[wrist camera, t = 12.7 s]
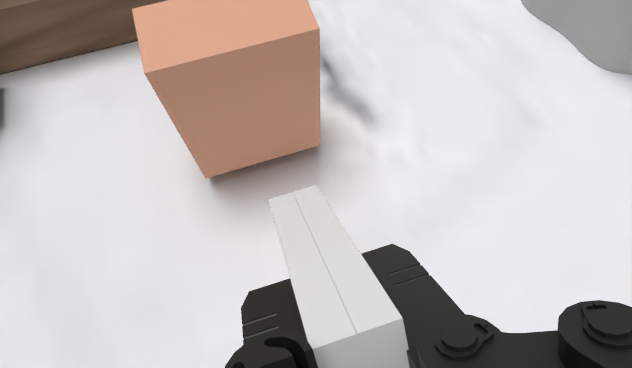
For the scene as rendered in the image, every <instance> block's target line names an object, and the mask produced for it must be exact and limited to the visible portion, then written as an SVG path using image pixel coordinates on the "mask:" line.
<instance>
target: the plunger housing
mask: <svg viewBox="0 0 632 368" xmlns="http://www.w3.org/2000/svg"><path fill="white" fill-rule="evenodd" d="M163 1H167V0H0V74H2V73H6V72H10V71H14V70H18V69H23V68H27V67H31V66H35V65H39V64H43V63H47V62H51V61H55V60H59V59H63V58H67V57H71V56H75V55H79V54H83V53H87V52H92V51H96V50H100V49H104V48H108V47H112V46H116V45H120V44H124V43H128V42H132V41H136V40H138V38H137V33H136V28H135V23H134V17H133V12H132V9H134V8H138V7H142V6H146V5H151V4H155V3H159V2H163Z"/></svg>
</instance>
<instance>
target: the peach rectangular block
mask: <svg viewBox="0 0 632 368" xmlns="http://www.w3.org/2000/svg"><path fill="white" fill-rule="evenodd" d="M132 12H133V17H134V23H135V28H136V33H137V38H138V43H139V48H140V53H141V59H142V64H143V69H144V73H145V75H146V77H147V79H148V80H149V82H150V84H151V85H152V87H153V89H154V91H155V92H156V94H157V96H158V97H159V99H160V101H161V103H162V104H163V106H164V108H165V109H166V111H167V113H168V115H169V116H170V118H171V120H172V121H173V123H174V125H175V127H176V128H177V130H178V132H179V134H180V135H181V137H182V139H183V140H184V142H185V144H186V146H187V147H188V149H189V151H190V152H191V154H192V156H193V158H194V159H195V161H196V163H197V164H198V166H199V168H200V170H201V171H202V173H203V175H204V176H205V178H209V177H213V176H216V175H220V174H223V173H226V172H230V171H233V170H237V169H240V168H244V167H247V166H251V165H254V164H257V163H261V162H264V161H268V160H271V159H275V158H278V157H282V156H285V155H288V154H292V153H295V152H299V151H302V150H306V149H309V148H313V147H316V146H319V145H320V35H319V26H318V24H317V22H316V19H315V17H314V15H313V12H312V10H311V8H310V6H309V3H308V1H307V0H167V1H163V2H159V3H155V4H151V5H146V6H142V7H138V8H134V9H132Z"/></svg>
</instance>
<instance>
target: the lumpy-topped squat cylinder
mask: <svg viewBox="0 0 632 368" xmlns="http://www.w3.org/2000/svg"><path fill="white" fill-rule="evenodd" d="M521 1H522V4H523V5H524V7H525V8H526V9H527V10H528V11H529V12H530V13H531V14H532V15H534V16H535V17H536V18H538V19H539V20H541V21H543V22H544V23H546V24H548V25H549V26H551V27H552V28H554V29H555V30H557V31H558V32H560V33H561V34H562V35H563V36H565V37H566V38H567V39H568V40H569V41H570V42H571V43H572V44H573V45H574V46H575V47H576V48H577V50H578V51H579V52H580V53H581V54H582V55H584V56H585V57H586V58H587V59H588V60H589V61H591V62H592V63H594V64H595V65H597V66H599V67H601V68H603V69H605V70H608V71H612V72H616V73H623V74H632V0H521Z"/></svg>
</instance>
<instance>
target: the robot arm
mask: <svg viewBox="0 0 632 368" xmlns="http://www.w3.org/2000/svg"><path fill="white" fill-rule="evenodd" d="M268 201H269V205H270V208H271V212H272V215H273V219H274V223H275V226H276V230H277V233H278V237H279V240H280V244H281V248H282V251H283V255H284V258H285V262H286V265H287V269H288V273H289V276H290V279H287V280H284V281H281V282H277V283H274V284H271V285H268V286H265V287H262V288H259V289H256V290H253V291H250V292H249V293H248V295H247V297H246V299H245V301H244V303H243V305H242V307H241V313H242V324H243V327H242V328H243V338H244V340H243V343H244V345H243V346H242V347H241V348H240V349H238V350H237V351H236V352H235V353H234V354H233V356H232V357H231V358H230V360H229V361H228V363H227V364H226V366H225V368H632V307H630V306H627V305H624V304H621V303H616V302H608V301H600V300H597V301H586V302H580V303H577V304H575V305H572V306H570V307H567V308H566V309H565V310H564V311H563V313H562V314H561V315H560V316H559V321H558V330H557V331H545V332H532V333H504V332H501V331H500V330H499V329H498V328H496V327H495V326H494V325H492V324H491V323H489V322H488V321H487V320H484V319H481V318H478V317H475V316H472V315H465V314H464V313H463V312H462V310H461V309H460V308H459V307H458V306H457V305H456V304H455V303H454V301H453V300H452V299H451V298H450V297H449V296H448V295H447V294H446V292H445V291H444V290H443V289H442V288H441V287H440V286H439V284H438V283H437V282H436V281H435V280H434V279H433V278H432V277H431V276H429V273H428V272H427V271H426V270H425V269H424V268H423V266H420V263H419V262H418V261H417V260H416V258H415V257H414V256H413V255H412V254H411V253H410V252H409V251H407V250H405V249H403V248H400V247H398V246H396V245H394V244H390V245H387V246H384V247H381V248H378V249H375V250H372V251H369V252H365V253H362V254H361V253H360V251H359V250H358V248H357V247H356V245H355V244H354V242H353V241H352V239H351V238H350V236H349V234H348V233H347V231H346V230H345V228H344V227H343V225H342V224H341V222H340V221H339V219H338V217H337V216H336V214H335V213H334V211H333V210H332V208H331V207H330V205H329V204H328V202H327V200H326V199H325V197H324V196H323V194H322V193H321V191H320V190H319V188H318V187H317V185H314V186H310V187H307V188H304V189H300V190H297V191H294V192H290V193H287V194H284V195H280V196H277V197H274V198H270V199H268Z"/></svg>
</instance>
